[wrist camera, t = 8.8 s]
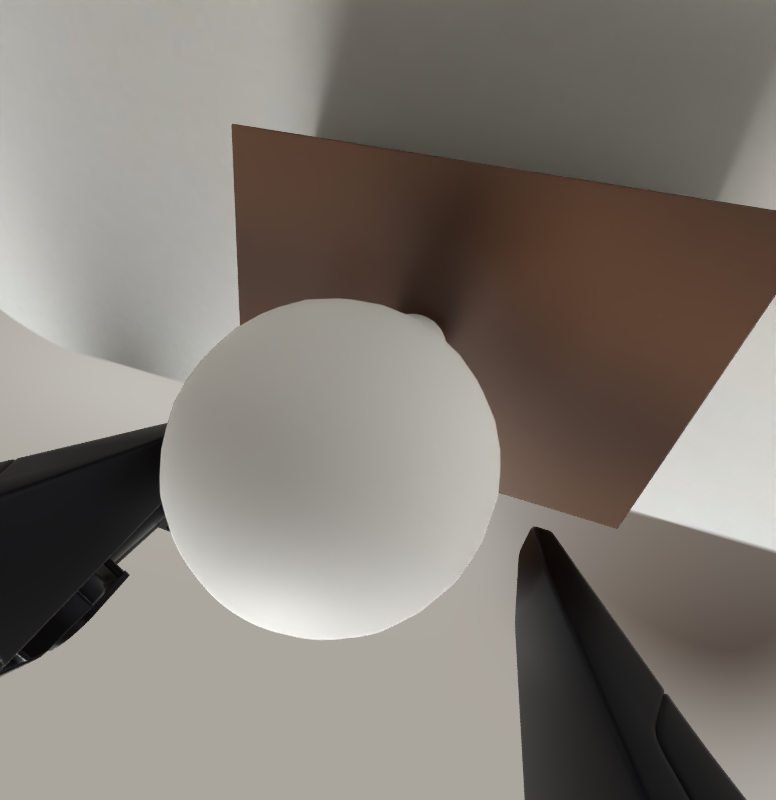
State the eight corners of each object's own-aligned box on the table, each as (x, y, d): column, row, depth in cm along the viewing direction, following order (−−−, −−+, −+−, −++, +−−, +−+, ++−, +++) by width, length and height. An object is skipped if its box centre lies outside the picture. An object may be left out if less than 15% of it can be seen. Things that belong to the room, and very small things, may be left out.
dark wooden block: (586, 449, 21) (617, 529, 15) (301, 370, 24) (243, 415, 18) (709, 219, 15) (828, 218, 10) (311, 152, 18) (230, 123, 12)
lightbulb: (346, 400, 16) (129, 658, 7) (340, 253, 13) (-47, 337, 4) (486, 420, 15) (466, 783, 5) (512, 261, 12) (568, 421, 2)
